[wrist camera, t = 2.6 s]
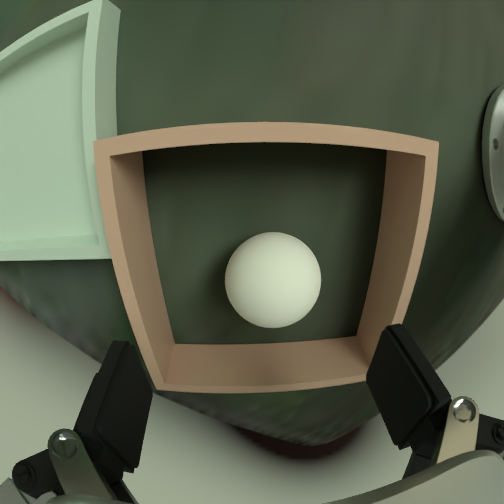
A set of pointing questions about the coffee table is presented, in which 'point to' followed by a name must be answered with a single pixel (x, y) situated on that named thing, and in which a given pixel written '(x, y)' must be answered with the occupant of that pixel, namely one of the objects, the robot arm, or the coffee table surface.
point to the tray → (57, 135)
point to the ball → (272, 280)
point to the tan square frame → (270, 354)
